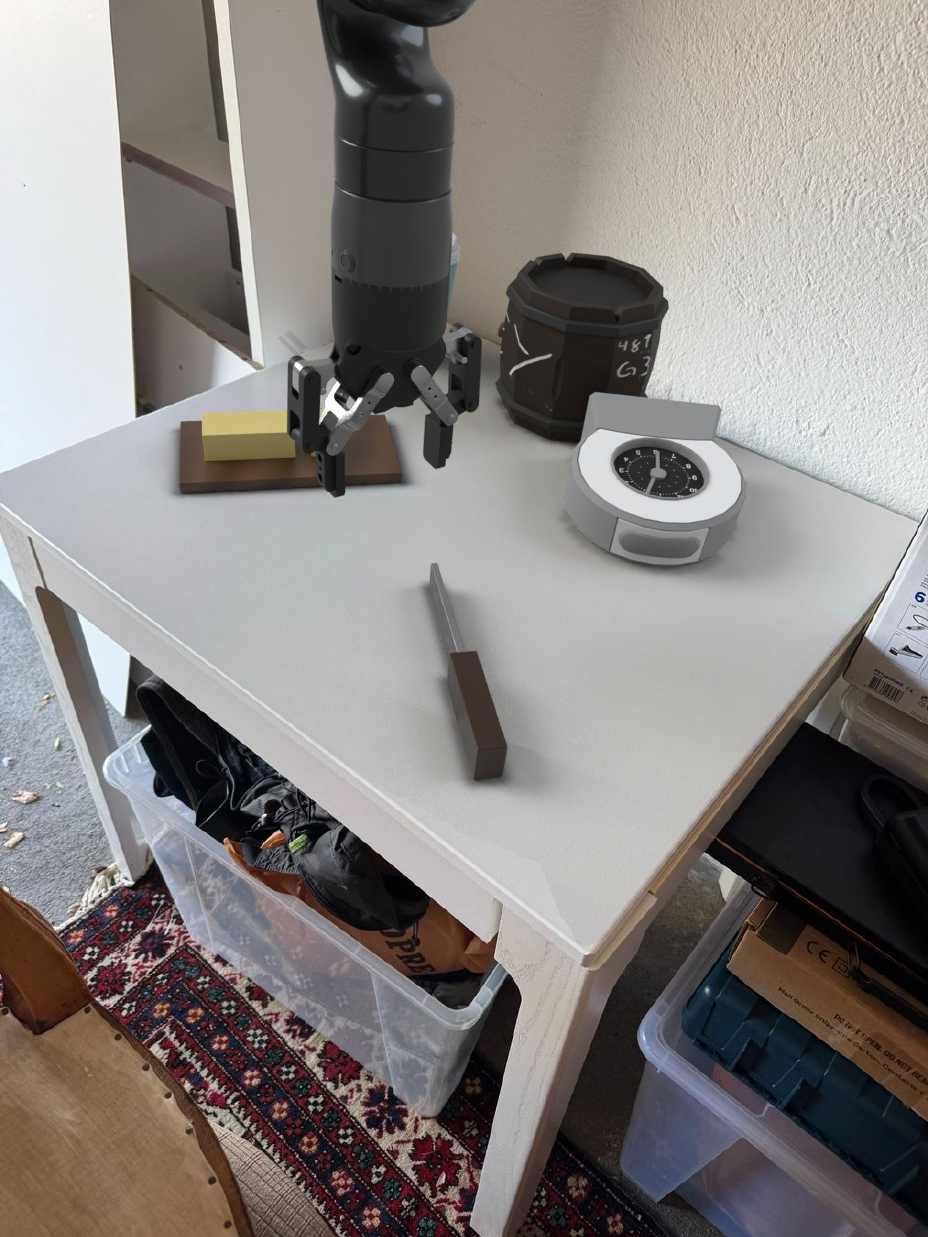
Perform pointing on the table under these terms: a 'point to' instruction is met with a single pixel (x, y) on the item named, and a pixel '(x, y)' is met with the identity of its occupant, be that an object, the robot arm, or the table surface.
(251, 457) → the butter stick
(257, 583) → the table surface
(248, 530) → the table surface
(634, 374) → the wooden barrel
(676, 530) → the alarm clock
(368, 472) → the board
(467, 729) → the knife
